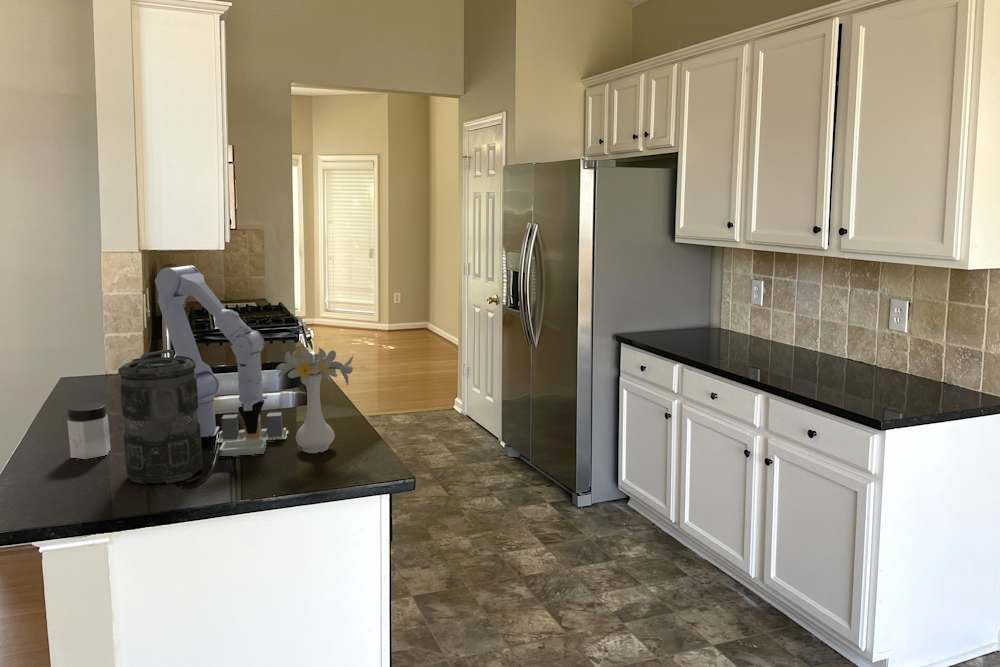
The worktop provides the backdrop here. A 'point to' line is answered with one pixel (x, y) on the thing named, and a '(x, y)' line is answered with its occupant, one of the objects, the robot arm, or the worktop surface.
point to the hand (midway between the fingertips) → (253, 431)
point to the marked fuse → (256, 432)
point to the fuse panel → (233, 434)
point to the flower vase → (314, 394)
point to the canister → (160, 418)
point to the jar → (88, 430)
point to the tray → (242, 447)
